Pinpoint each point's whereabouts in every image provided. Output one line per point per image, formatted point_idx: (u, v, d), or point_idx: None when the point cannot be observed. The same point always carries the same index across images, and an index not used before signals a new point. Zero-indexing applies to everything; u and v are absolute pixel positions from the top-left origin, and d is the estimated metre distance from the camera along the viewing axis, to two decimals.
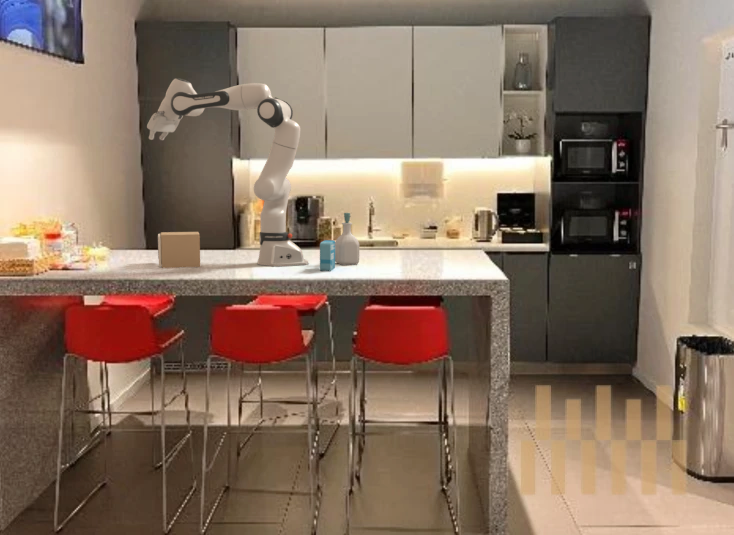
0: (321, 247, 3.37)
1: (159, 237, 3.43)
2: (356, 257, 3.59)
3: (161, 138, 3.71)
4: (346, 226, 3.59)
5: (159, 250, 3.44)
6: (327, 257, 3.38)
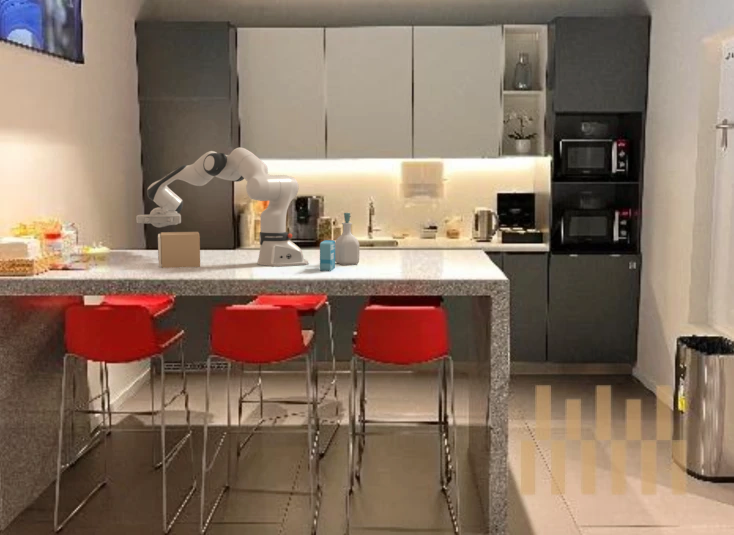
0: (321, 247, 3.37)
1: (159, 237, 3.43)
2: (356, 257, 3.59)
3: (167, 219, 3.76)
4: (346, 226, 3.59)
5: (159, 250, 3.44)
6: (327, 257, 3.38)
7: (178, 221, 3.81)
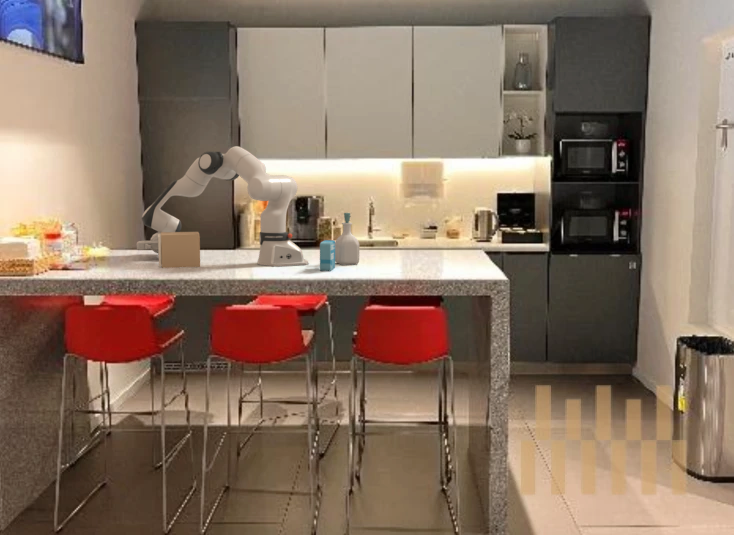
0: (321, 247, 3.37)
1: (159, 237, 3.43)
2: (356, 257, 3.59)
3: None
4: (346, 226, 3.59)
5: (159, 250, 3.44)
6: (327, 257, 3.38)
7: None
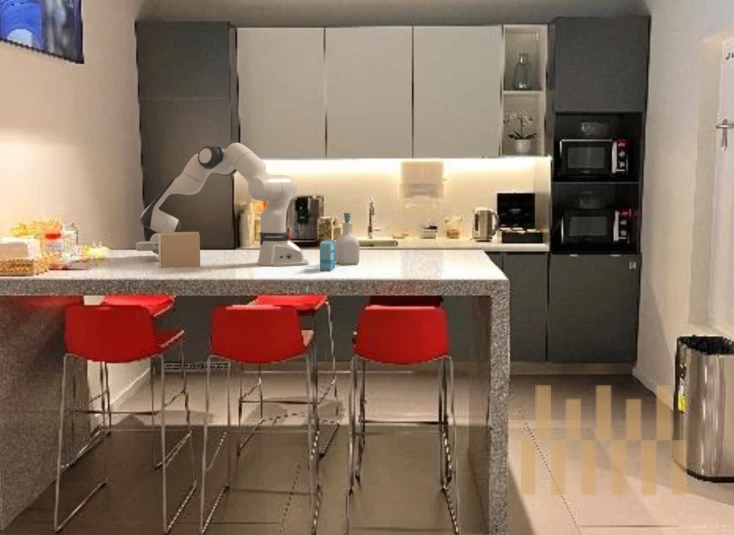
0: (321, 247, 3.37)
1: (159, 237, 3.43)
2: (356, 257, 3.59)
3: None
4: (346, 226, 3.59)
5: (159, 250, 3.44)
6: (327, 257, 3.38)
7: None
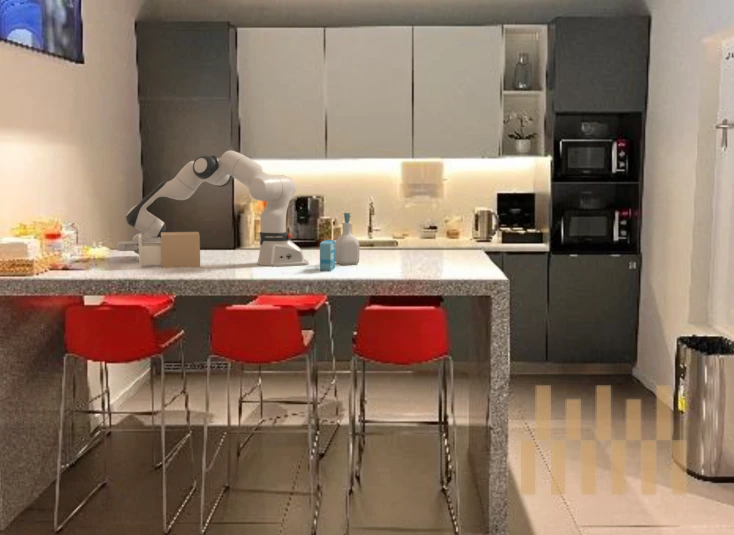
0: (321, 247, 3.37)
1: (139, 237, 3.41)
2: (356, 257, 3.59)
3: None
4: (346, 226, 3.59)
5: (139, 250, 3.42)
6: (327, 257, 3.38)
7: None
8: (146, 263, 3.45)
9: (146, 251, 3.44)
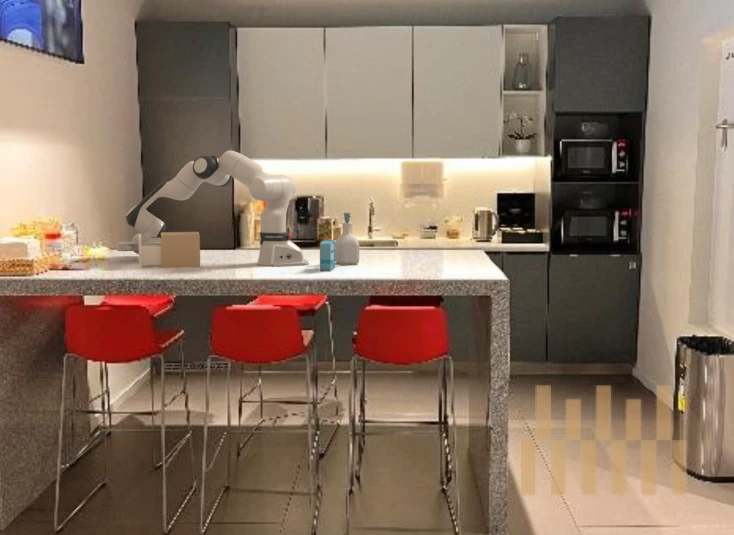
0: (321, 247, 3.37)
1: (139, 237, 3.41)
2: (356, 257, 3.59)
3: None
4: (346, 226, 3.59)
5: (139, 250, 3.42)
6: (327, 257, 3.38)
7: None
8: (146, 263, 3.45)
9: (146, 251, 3.44)
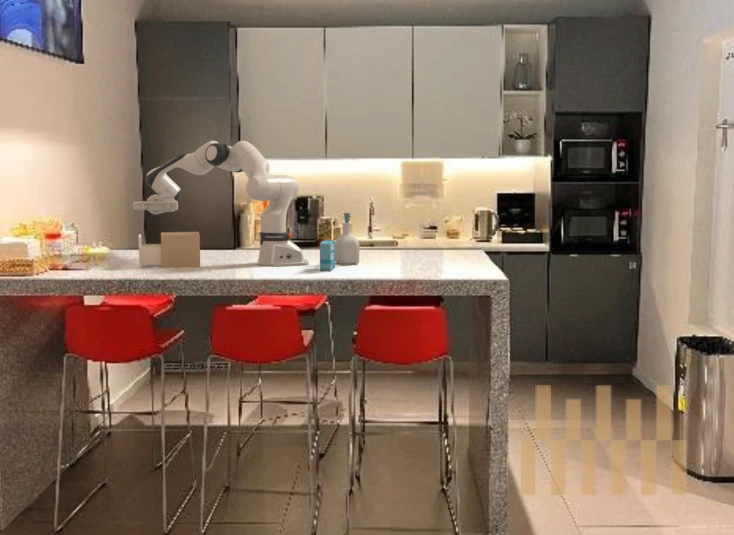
0: (321, 247, 3.37)
1: (139, 237, 3.41)
2: (356, 257, 3.59)
3: (164, 206, 3.73)
4: (346, 226, 3.59)
5: (139, 250, 3.42)
6: (327, 257, 3.38)
7: (175, 208, 3.78)
8: (146, 263, 3.45)
9: (146, 251, 3.44)
